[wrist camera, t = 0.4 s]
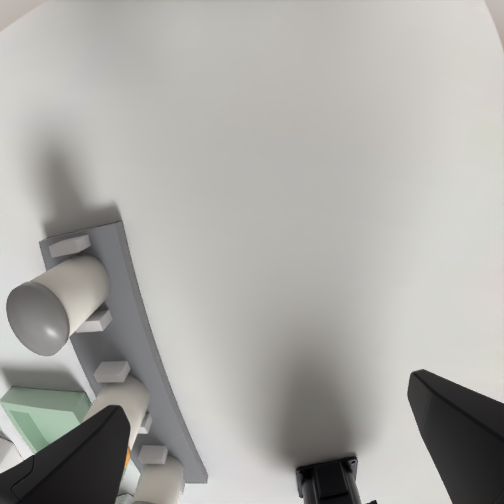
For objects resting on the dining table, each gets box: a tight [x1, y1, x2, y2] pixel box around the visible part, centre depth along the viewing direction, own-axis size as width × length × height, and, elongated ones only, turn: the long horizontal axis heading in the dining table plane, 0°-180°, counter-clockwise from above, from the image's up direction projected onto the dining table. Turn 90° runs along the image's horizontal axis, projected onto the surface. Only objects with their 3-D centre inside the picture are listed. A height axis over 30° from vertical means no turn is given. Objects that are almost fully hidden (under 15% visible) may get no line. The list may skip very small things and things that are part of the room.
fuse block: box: [6, 221, 208, 504], centre depth 20 cm, size 27×7×8 cm, turn 9°
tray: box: [0, 386, 127, 484], centre depth 25 cm, size 11×11×3 cm
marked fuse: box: [82, 375, 150, 467], centre depth 20 cm, size 4×4×7 cm
